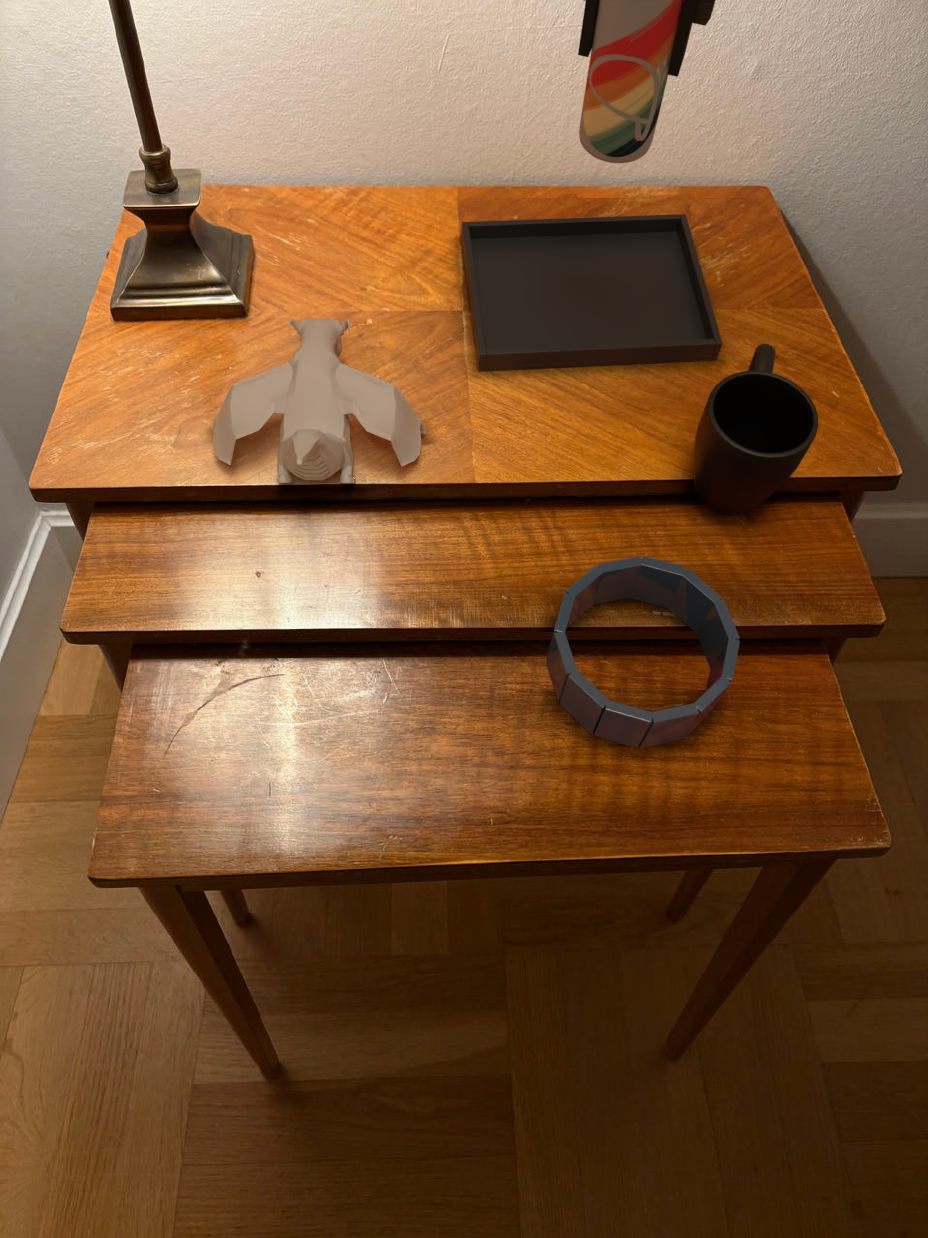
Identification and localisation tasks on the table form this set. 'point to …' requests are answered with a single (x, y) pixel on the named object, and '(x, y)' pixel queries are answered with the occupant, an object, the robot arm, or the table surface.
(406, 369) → the table surface
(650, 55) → the white cylindrical bottle
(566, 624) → the segmented bangle bracelet
